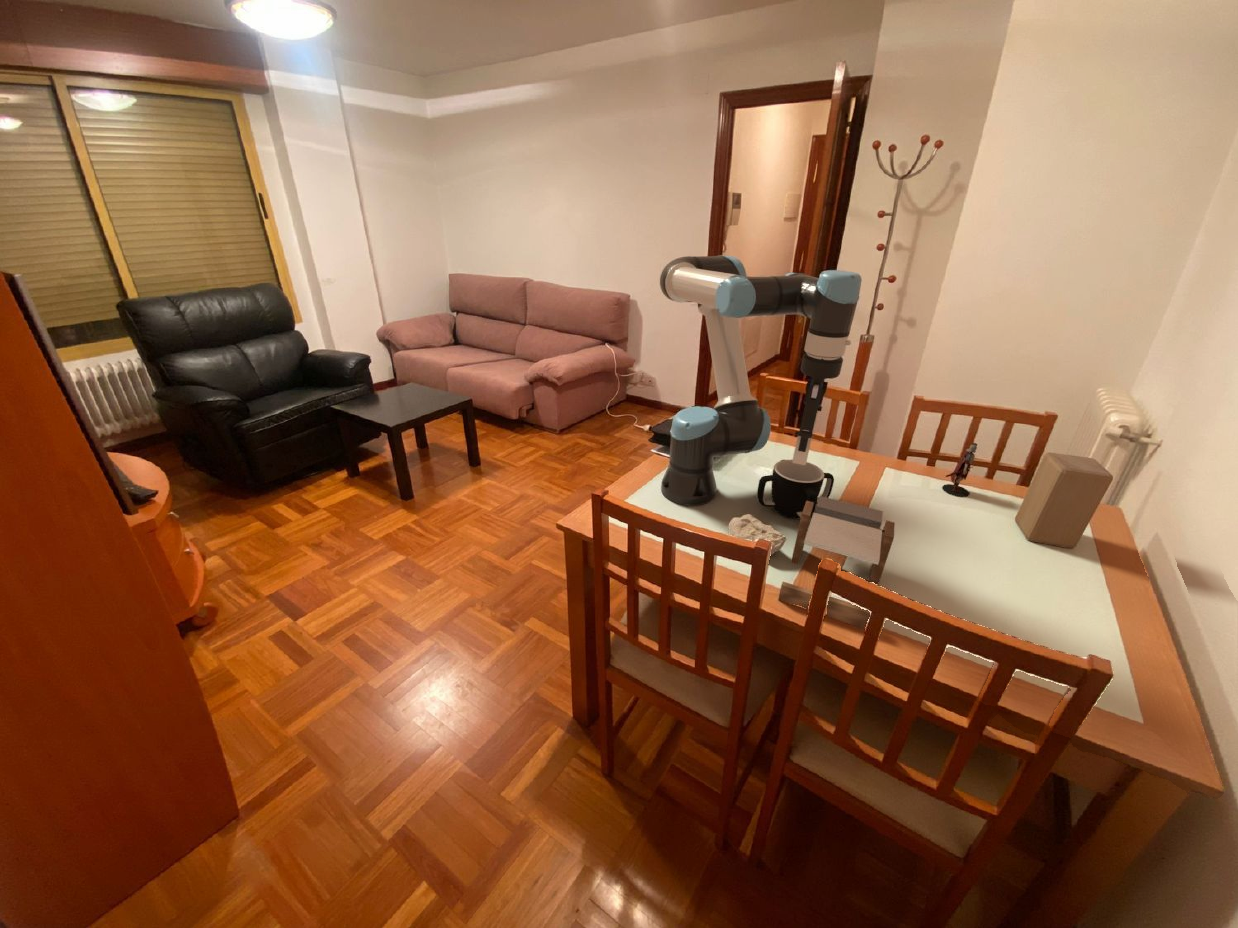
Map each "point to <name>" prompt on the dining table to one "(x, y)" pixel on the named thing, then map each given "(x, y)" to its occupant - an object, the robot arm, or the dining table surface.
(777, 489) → the mug
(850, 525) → the trapdoor
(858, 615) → the frame
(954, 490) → the figurine
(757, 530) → the stone
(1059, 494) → the wooden block
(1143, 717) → the dining table surface
